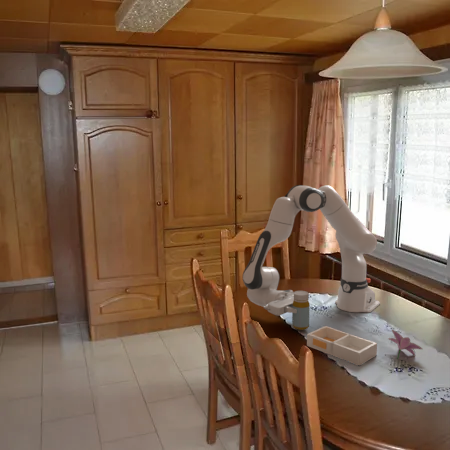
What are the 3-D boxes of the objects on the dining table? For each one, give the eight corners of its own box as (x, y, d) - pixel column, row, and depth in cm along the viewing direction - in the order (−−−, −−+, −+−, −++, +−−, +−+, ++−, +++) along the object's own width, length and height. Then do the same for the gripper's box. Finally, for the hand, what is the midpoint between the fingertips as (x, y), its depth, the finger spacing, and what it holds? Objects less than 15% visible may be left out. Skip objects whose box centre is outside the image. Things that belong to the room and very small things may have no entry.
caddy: (325, 336, 193) (325, 325, 192) (376, 355, 176) (377, 343, 176) (306, 345, 185) (306, 334, 184) (358, 366, 168) (358, 353, 167)
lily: (424, 366, 170) (429, 340, 172) (397, 357, 167) (402, 330, 169) (402, 362, 181) (407, 337, 183) (376, 353, 178) (382, 328, 181)
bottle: (308, 330, 196) (309, 296, 193) (291, 329, 197) (292, 295, 195) (309, 324, 203) (309, 290, 200) (292, 323, 204) (293, 289, 201)
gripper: (261, 299, 200) (286, 308, 190) (292, 288, 214) (317, 296, 204) (261, 314, 202) (286, 322, 192) (292, 302, 215) (317, 309, 205)
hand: (302, 308), depth 198 cm, fingers closed on bottle, 6 cm apart
